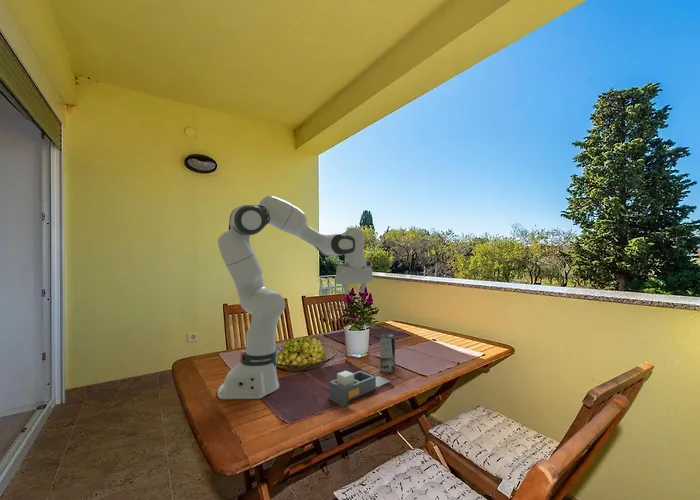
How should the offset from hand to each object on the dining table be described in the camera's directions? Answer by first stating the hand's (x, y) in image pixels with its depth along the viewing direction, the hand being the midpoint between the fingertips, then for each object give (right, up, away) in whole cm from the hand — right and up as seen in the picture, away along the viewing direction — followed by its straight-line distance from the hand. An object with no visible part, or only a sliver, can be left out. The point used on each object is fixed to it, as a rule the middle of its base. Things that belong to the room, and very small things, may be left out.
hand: (354, 293), depth 135 cm
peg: (-4, -34, -26) cm, 43 cm away
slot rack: (+3, -35, -21) cm, 40 cm away
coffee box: (+15, -35, 0) cm, 39 cm away
